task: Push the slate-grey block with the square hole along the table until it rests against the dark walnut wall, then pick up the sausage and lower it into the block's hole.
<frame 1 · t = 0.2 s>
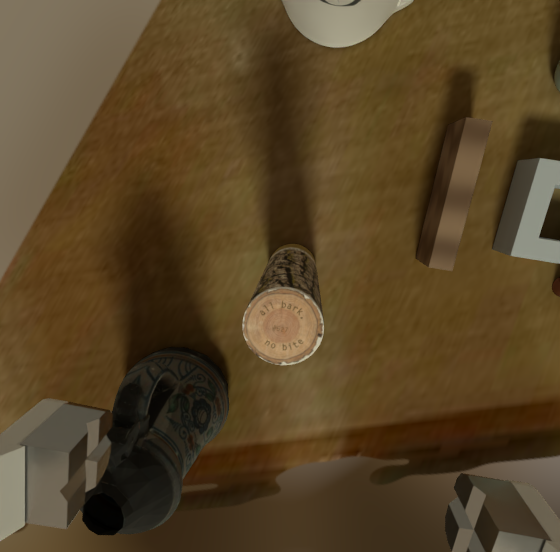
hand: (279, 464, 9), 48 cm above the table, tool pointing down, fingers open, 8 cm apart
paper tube: (292, 265, 57), on the table
walnut wall: (442, 196, 53), on the table
beer stein: (177, 383, 62), on the table
holed block: (549, 213, 53), on the table
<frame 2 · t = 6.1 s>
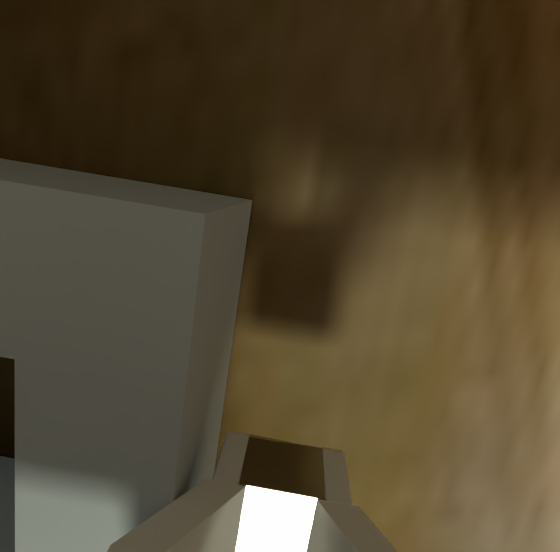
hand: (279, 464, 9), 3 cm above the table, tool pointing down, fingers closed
holed block: (28, 367, 12), on the table, touching gripper
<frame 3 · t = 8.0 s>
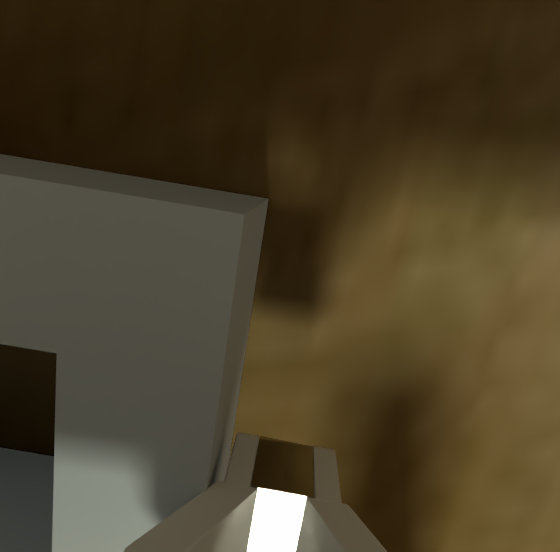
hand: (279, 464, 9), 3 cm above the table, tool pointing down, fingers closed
holed block: (45, 363, 12), on the table, touching gripper, walnut wall
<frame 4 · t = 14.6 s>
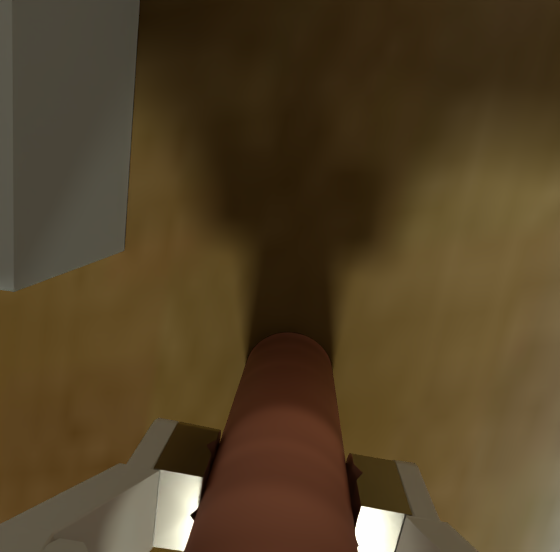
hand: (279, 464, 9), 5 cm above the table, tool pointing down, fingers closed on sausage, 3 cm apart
sausage: (288, 373, 13), on the table, touching gripper
when the fingers open (6 cm above the table, at t = 20.6 s): sausage drops 2 cm, resting in holed block.
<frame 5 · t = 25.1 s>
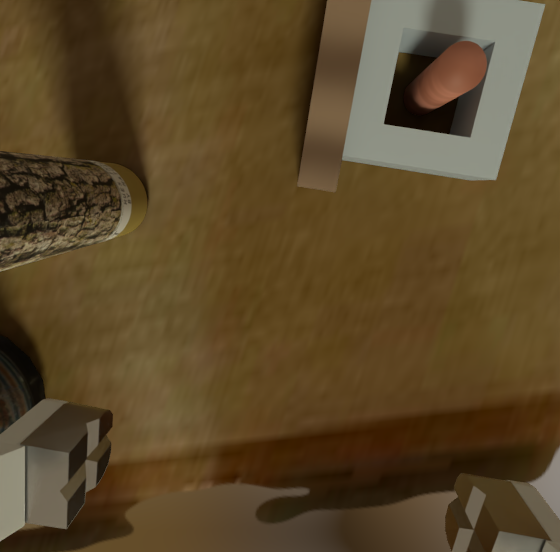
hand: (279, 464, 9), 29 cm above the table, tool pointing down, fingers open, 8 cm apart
sausage: (421, 96, 34), resting in holed block
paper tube: (116, 199, 37), on the table
walnut wall: (332, 82, 34), on the table
holed block: (418, 98, 34), on the table
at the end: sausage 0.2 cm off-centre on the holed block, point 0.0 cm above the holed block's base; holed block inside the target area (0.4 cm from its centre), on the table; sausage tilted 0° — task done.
